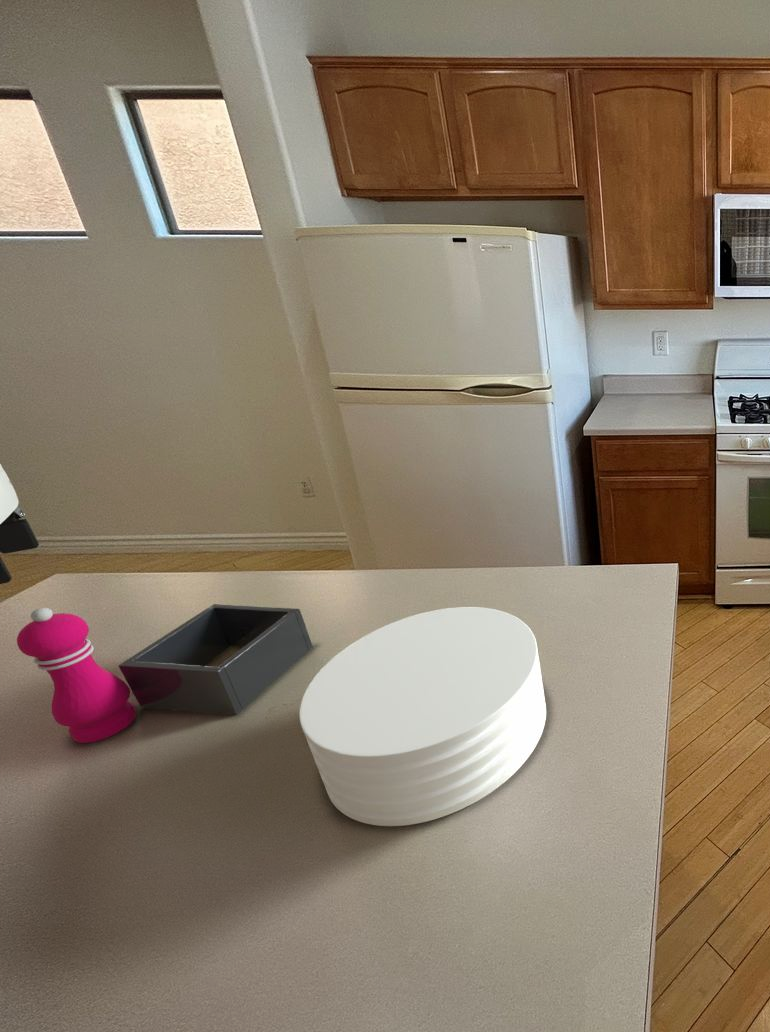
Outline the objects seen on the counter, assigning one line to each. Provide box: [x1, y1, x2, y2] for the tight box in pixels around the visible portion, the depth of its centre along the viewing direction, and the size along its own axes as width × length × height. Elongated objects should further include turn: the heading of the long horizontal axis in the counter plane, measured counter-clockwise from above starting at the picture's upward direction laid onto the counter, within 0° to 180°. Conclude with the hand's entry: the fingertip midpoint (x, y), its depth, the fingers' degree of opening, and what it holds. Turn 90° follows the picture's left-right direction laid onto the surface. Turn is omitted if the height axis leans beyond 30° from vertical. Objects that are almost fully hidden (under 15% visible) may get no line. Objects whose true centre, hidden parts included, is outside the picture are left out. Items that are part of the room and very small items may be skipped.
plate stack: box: [299, 606, 547, 827], centre depth 76 cm, size 28×28×12 cm
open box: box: [117, 603, 314, 716], centre depth 86 cm, size 15×15×8 cm
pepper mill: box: [16, 607, 137, 744], centre depth 74 cm, size 7×7×20 cm
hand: (7, 566), depth 67 cm, fingers open, 9 cm apart
